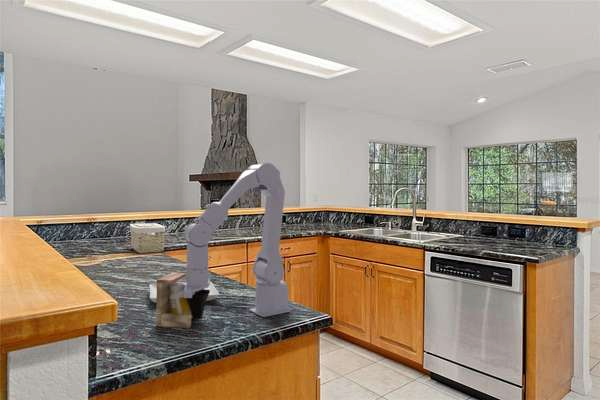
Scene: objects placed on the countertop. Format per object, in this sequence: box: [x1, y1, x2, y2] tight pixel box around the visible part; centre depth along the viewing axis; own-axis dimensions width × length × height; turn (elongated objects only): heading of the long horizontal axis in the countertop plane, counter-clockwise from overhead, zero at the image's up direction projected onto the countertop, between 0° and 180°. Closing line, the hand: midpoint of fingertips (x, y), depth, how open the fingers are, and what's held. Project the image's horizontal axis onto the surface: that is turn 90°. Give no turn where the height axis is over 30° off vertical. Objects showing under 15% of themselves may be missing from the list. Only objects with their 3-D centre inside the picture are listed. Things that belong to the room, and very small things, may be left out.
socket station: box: [155, 272, 192, 329], centre depth 111 cm, size 9×10×12 cm
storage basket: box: [129, 222, 166, 254], centre depth 238 cm, size 24×16×15 cm
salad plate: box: [148, 280, 220, 303], centre depth 136 cm, size 21×21×3 cm
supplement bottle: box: [169, 283, 194, 319], centre depth 112 cm, size 5×5×10 cm
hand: (197, 317), depth 111 cm, fingers closed, pressing on supplement bottle
